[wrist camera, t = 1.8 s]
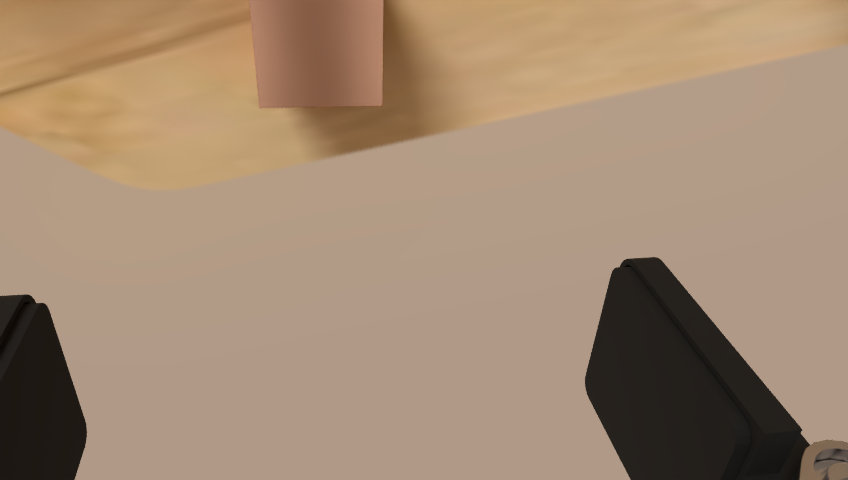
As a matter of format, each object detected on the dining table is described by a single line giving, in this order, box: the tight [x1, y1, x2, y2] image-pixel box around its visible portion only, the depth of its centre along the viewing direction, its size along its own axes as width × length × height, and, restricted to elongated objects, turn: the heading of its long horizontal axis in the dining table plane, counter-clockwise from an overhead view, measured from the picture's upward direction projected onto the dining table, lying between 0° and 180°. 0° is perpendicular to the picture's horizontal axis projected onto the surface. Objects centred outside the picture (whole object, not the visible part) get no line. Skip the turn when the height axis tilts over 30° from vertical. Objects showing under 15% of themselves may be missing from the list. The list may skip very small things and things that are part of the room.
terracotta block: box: [249, 0, 383, 108], centre depth 28 cm, size 5×5×6 cm
